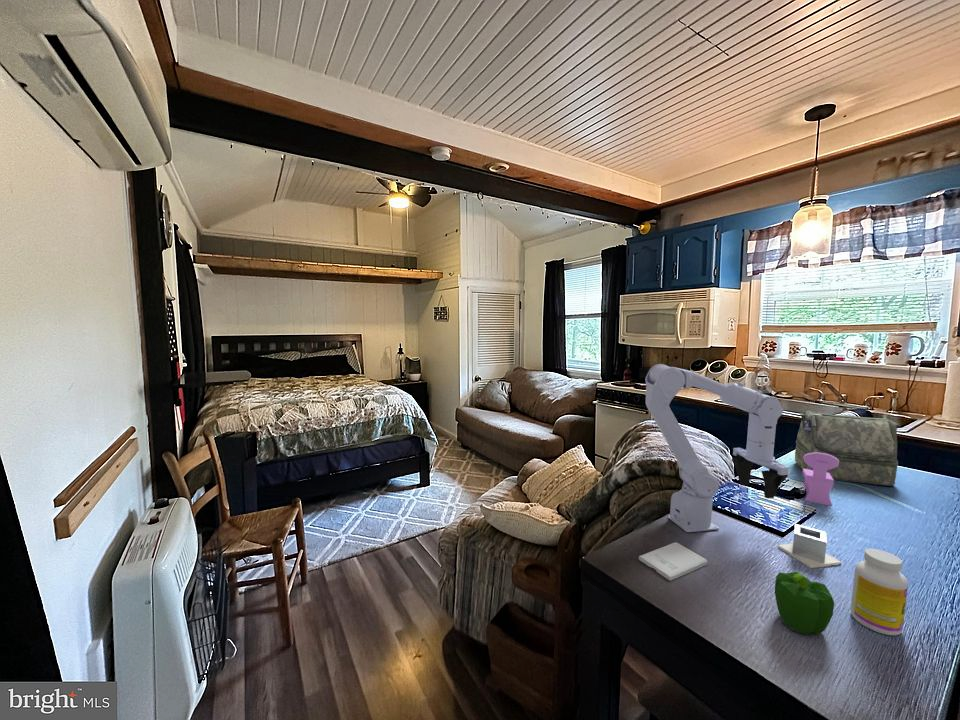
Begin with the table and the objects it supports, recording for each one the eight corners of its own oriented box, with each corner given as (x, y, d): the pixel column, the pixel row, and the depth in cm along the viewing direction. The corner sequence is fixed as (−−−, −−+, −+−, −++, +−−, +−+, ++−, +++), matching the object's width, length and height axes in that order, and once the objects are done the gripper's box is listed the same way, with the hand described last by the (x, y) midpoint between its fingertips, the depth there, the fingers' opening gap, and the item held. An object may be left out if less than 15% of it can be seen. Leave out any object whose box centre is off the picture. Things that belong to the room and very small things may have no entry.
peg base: (811, 568, 86) (813, 548, 86) (777, 547, 94) (779, 529, 93) (841, 564, 87) (843, 545, 87) (806, 544, 95) (807, 526, 95)
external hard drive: (707, 567, 87) (670, 583, 82) (674, 547, 95) (638, 561, 89) (707, 560, 87) (670, 576, 82) (675, 541, 94) (638, 554, 89)
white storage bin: (792, 553, 90) (794, 533, 90) (793, 543, 95) (795, 523, 94) (824, 563, 87) (826, 542, 86) (823, 552, 91) (826, 532, 90)
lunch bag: (802, 477, 136) (808, 416, 133) (786, 460, 152) (792, 405, 150) (904, 491, 125) (912, 425, 123) (875, 471, 142) (882, 412, 139)
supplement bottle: (908, 643, 66) (918, 572, 65) (855, 627, 70) (863, 559, 68) (894, 618, 72) (902, 552, 70) (845, 604, 75) (852, 541, 74)
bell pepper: (801, 606, 75) (806, 557, 73) (843, 642, 66) (849, 587, 65) (759, 607, 74) (763, 558, 73) (795, 643, 66) (800, 588, 65)
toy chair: (830, 495, 122) (835, 448, 120) (836, 506, 115) (842, 457, 113) (796, 489, 126) (800, 444, 125) (800, 499, 119) (805, 452, 117)
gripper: (801, 449, 94) (795, 502, 95) (750, 431, 108) (746, 478, 110) (775, 450, 93) (771, 504, 94) (727, 432, 107) (724, 480, 109)
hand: (756, 491), depth 102 cm, fingers open, 7 cm apart
